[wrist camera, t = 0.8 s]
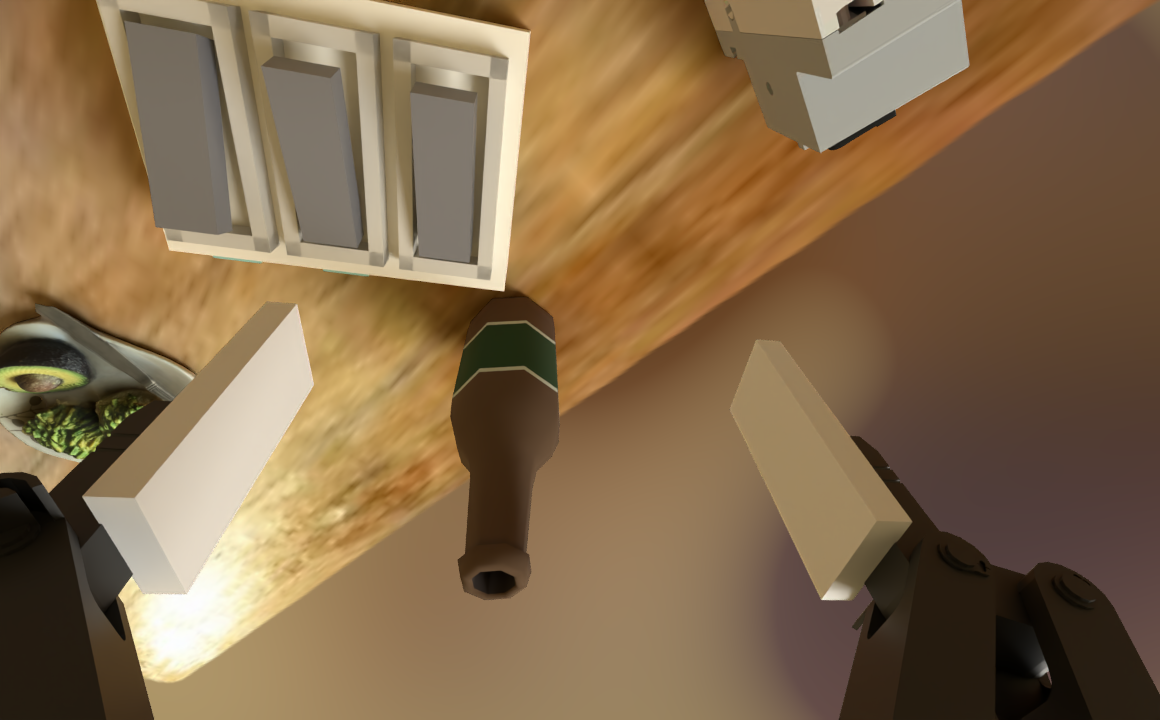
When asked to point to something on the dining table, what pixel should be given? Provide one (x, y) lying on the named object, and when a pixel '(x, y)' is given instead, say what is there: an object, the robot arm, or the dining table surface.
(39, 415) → the salad plate
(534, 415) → the beer bottle
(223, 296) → the dining table surface
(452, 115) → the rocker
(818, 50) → the circuit breaker
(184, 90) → the rocker
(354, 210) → the block
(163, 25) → the console
